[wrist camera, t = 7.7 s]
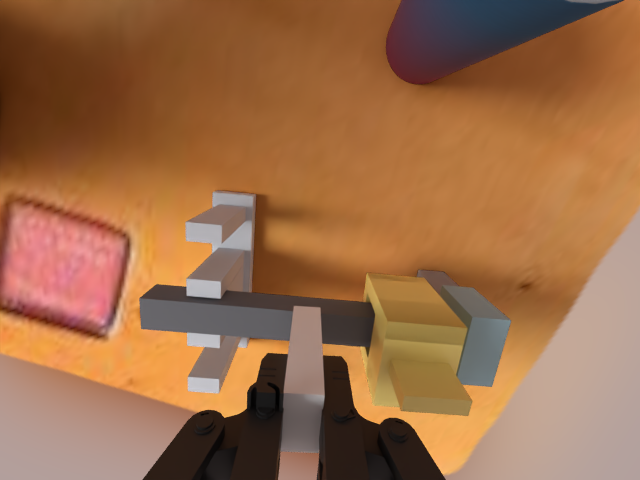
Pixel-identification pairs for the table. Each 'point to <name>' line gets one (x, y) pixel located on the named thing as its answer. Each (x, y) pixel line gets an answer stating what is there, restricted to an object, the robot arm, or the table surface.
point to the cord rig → (287, 304)
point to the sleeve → (413, 347)
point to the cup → (471, 31)
